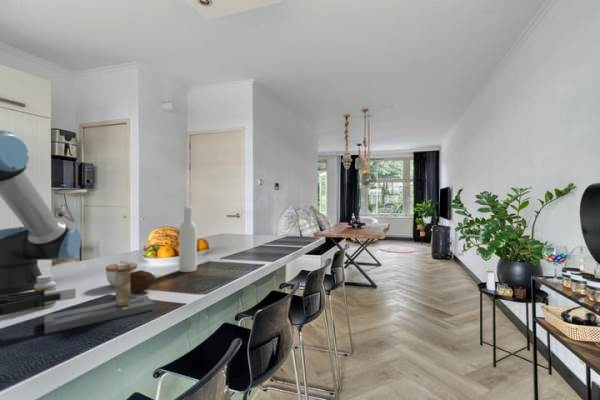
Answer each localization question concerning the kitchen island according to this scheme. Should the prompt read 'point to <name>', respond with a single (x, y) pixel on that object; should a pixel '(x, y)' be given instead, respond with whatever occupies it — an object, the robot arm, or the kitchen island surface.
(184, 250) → the bottle
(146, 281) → the potato
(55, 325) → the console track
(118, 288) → the fader tab
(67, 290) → the robot arm
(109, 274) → the lidded jar
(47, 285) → the supplement bottle
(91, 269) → the kitchen island surface
